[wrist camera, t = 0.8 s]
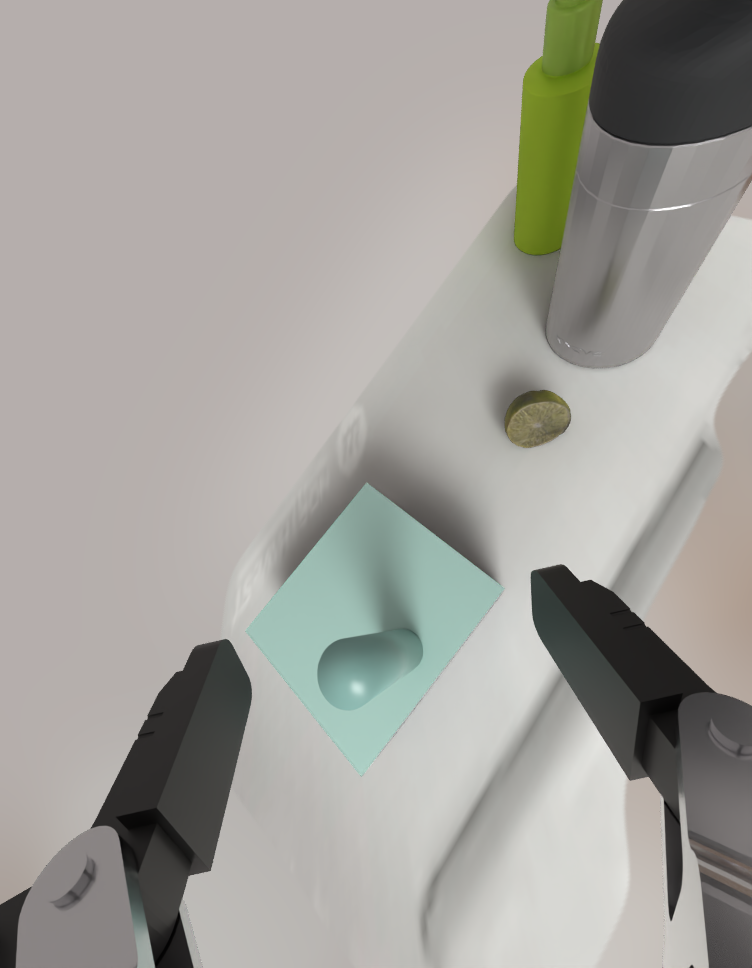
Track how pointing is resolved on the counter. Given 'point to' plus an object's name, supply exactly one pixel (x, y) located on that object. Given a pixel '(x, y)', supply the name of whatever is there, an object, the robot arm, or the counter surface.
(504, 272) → the counter surface
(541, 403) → the lime
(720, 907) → the robot arm
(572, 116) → the soap dispenser
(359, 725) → the lid
